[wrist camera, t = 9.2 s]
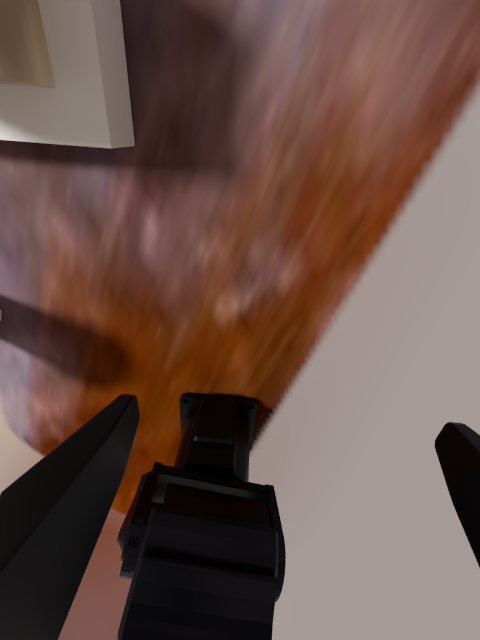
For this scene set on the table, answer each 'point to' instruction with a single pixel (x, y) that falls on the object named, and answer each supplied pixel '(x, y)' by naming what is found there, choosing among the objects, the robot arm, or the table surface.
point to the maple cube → (23, 45)
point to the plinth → (75, 81)
